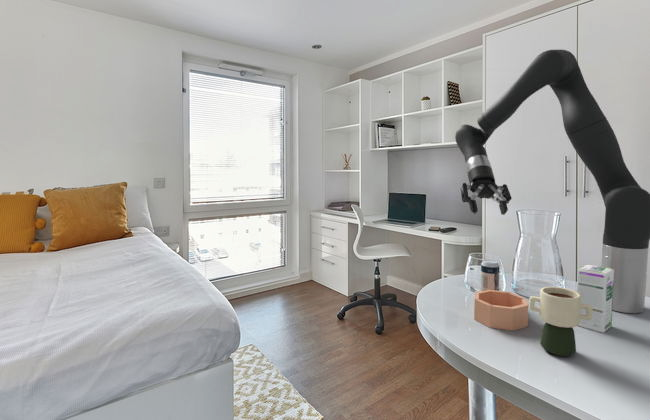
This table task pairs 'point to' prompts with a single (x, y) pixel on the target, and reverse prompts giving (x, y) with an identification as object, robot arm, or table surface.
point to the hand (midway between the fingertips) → (489, 212)
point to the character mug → (559, 318)
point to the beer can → (489, 275)
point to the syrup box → (596, 296)
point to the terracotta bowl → (501, 310)
